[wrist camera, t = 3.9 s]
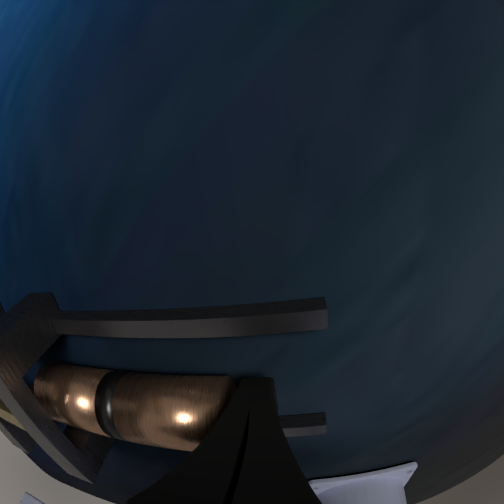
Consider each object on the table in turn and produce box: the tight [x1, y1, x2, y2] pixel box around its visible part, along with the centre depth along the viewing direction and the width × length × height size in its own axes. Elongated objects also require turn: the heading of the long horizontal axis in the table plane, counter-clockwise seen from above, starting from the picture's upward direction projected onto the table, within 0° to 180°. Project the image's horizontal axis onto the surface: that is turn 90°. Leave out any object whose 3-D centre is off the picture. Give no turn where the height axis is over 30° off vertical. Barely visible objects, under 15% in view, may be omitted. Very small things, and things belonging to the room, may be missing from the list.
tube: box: [34, 362, 236, 451], centre depth 11 cm, size 10×3×3 cm, turn 99°
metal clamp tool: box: [0, 293, 328, 484], centre depth 10 cm, size 9×20×5 cm, turn 99°
